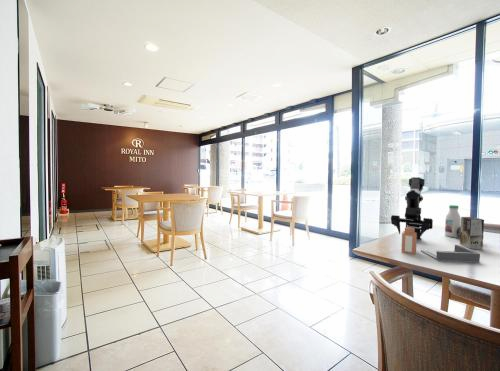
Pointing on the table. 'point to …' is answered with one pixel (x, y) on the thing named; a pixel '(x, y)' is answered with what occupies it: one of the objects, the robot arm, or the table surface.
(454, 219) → the milk bottle
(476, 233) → the coffee box
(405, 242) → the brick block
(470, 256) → the tray
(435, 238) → the table surface
